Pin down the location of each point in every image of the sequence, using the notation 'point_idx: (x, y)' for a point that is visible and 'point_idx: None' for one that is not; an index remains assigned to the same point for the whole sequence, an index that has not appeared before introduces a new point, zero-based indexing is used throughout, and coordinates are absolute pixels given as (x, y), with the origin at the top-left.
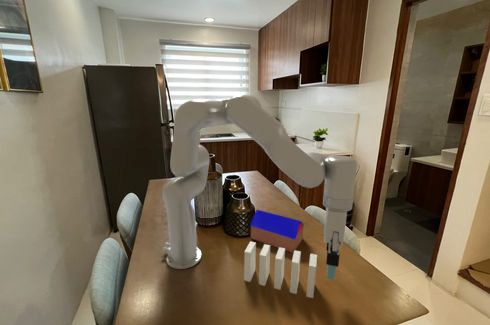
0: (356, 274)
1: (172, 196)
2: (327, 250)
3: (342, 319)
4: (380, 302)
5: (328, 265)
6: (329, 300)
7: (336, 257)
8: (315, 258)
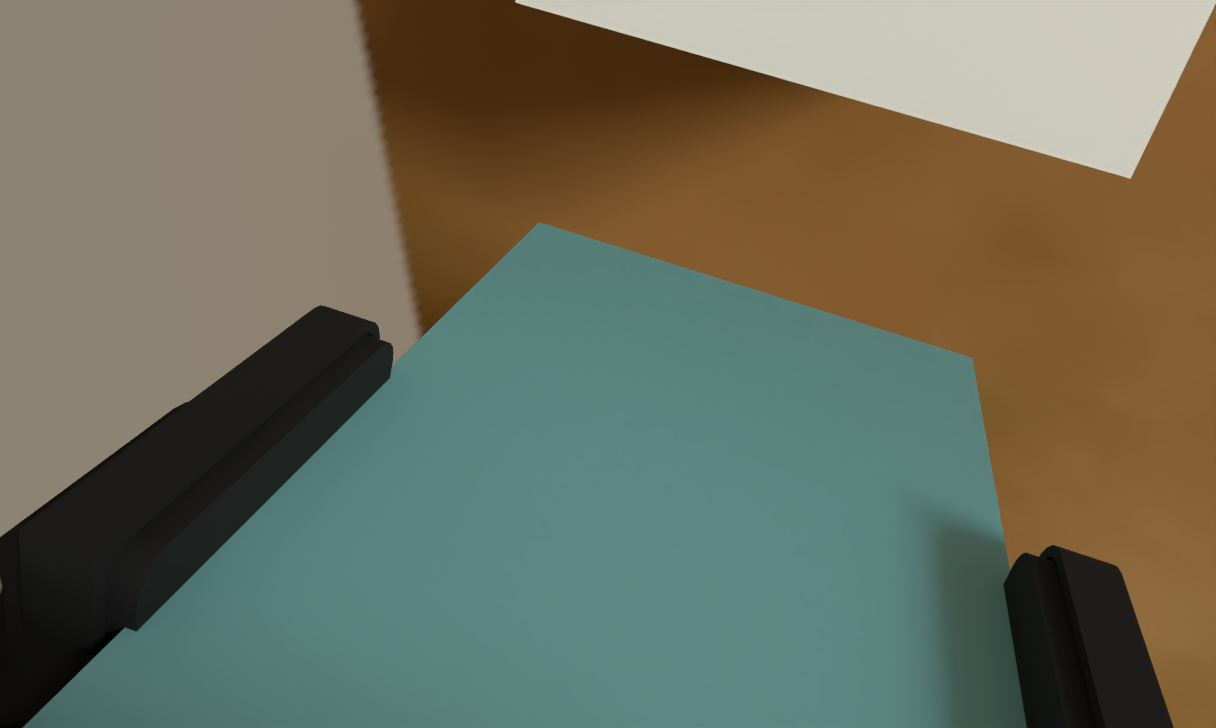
0: (1182, 711)
1: None
2: (1016, 565)
3: (414, 245)
4: None
5: (411, 349)
6: (679, 178)
7: None
8: (932, 77)
